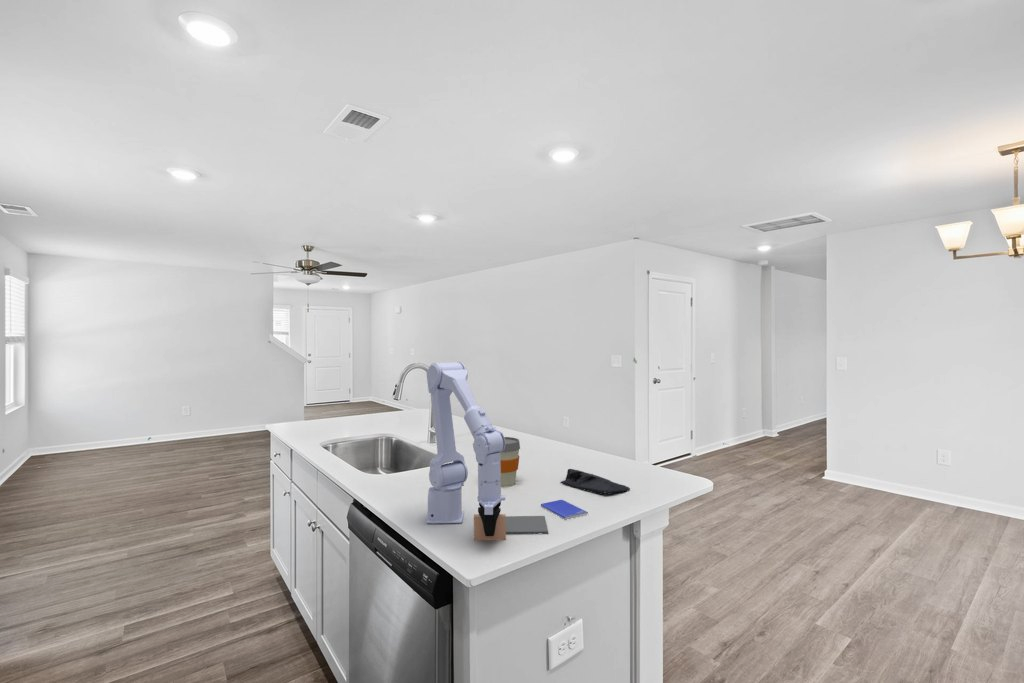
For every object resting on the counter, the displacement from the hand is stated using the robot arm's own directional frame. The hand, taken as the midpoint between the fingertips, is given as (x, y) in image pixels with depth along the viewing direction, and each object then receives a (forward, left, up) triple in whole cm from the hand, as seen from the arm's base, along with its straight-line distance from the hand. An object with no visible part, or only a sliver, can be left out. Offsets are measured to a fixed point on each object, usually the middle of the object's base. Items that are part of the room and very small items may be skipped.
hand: (489, 533), depth 120 cm
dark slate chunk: (+35, +42, -2) cm, 55 cm away
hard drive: (+21, +19, -2) cm, 28 cm away
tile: (0, 0, -2) cm, 2 cm away
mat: (+8, +8, -1) cm, 11 cm away
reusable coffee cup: (+3, +47, -2) cm, 47 cm away
